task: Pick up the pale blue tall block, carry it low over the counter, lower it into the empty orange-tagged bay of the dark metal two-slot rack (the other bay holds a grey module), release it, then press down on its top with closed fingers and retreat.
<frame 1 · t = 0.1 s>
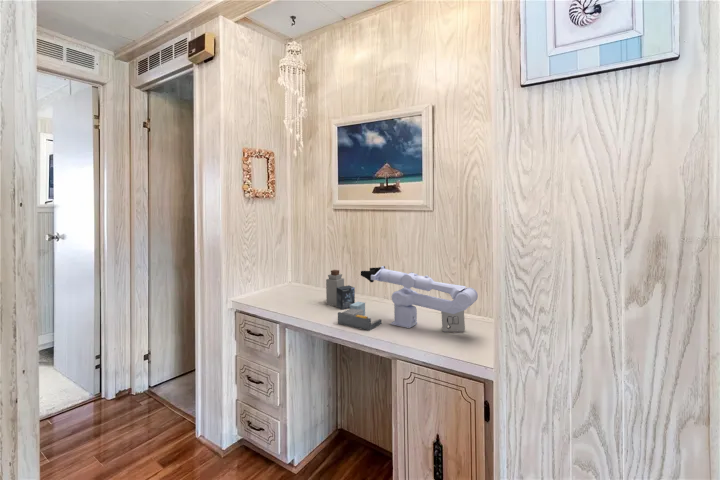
hand: (365, 271, 172), 21 cm above the table, tool horizontal, fingers open, 7 cm apart
rack bay: (368, 325, 163), on the table
box: (345, 307, 190), on the table
electrical switch: (451, 330, 156), on the table, touching arm
perfume bottle: (335, 304, 196), on the table
pale blue tall block: (357, 316, 176), on the table
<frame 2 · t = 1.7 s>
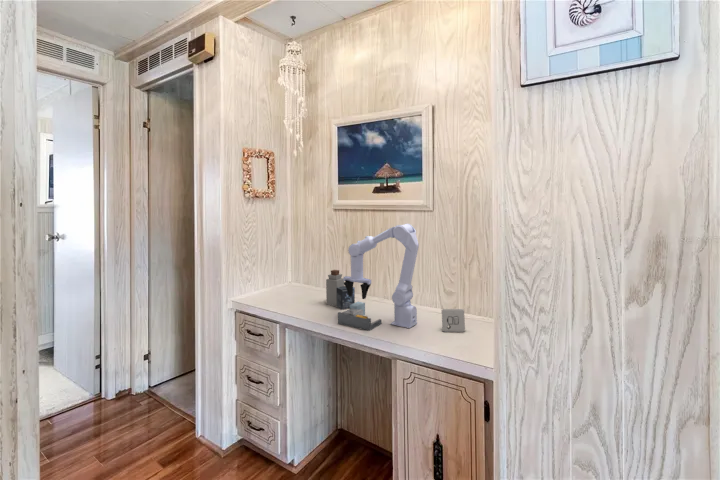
hand: (357, 297, 175), 9 cm above the table, tool pointing down, fingers open, 7 cm apart
electrical switch: (451, 330, 156), on the table
everything else where it was.
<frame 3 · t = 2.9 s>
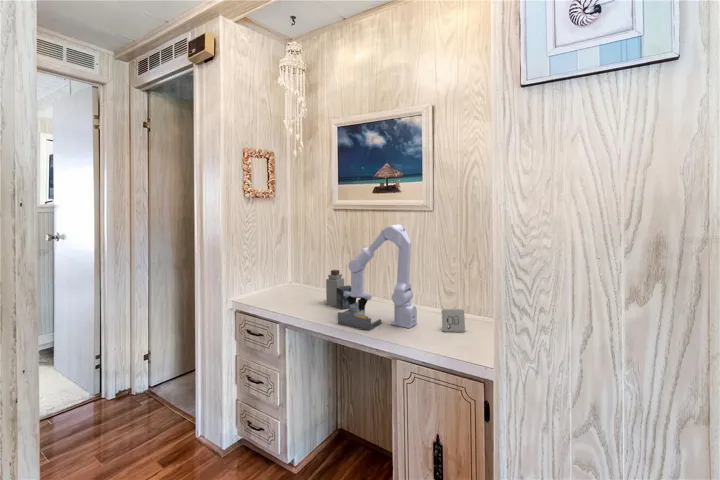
hand: (357, 312, 176), 2 cm above the table, tool pointing down, fingers closed on pale blue tall block, 4 cm apart
pale blue tall block: (357, 316, 176), on the table, touching gripper
everything else where it was.
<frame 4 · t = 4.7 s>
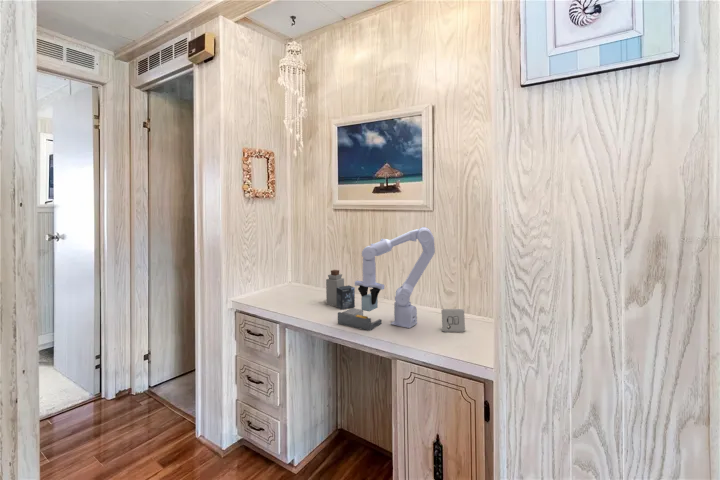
hand: (369, 303, 165), 9 cm above the table, tool pointing down, fingers closed on pale blue tall block, 4 cm apart
pale blue tall block: (369, 308, 166), point 6 cm above the table, touching gripper
everything else where it was.
when the fingers open (3 cm above the table, at t = 6.4 s): pale blue tall block stays where it is, resting in rack bay.
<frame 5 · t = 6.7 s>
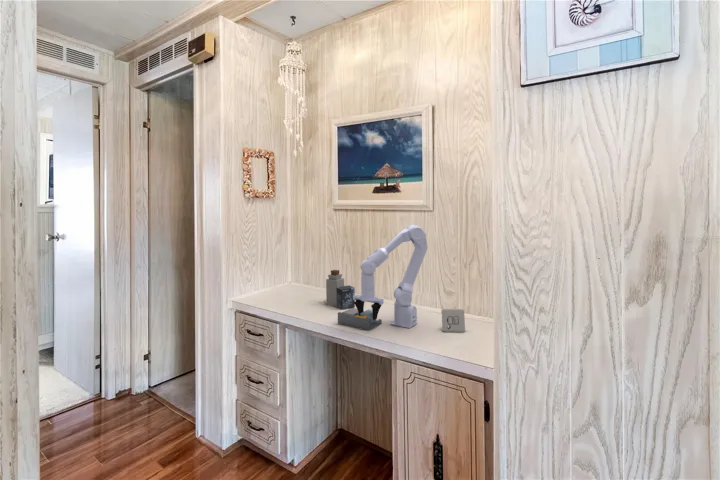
hand: (368, 318, 163), 3 cm above the table, tool pointing down, fingers open, 6 cm apart
pale blue tall block: (368, 325, 163), resting in rack bay
everything else where it was.
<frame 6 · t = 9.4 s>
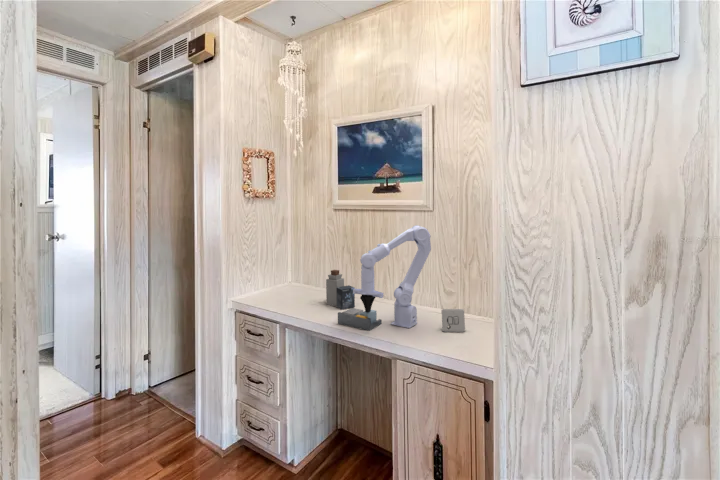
hand: (368, 311, 162), 6 cm above the table, tool pointing down, fingers closed
nothing on the table moved.
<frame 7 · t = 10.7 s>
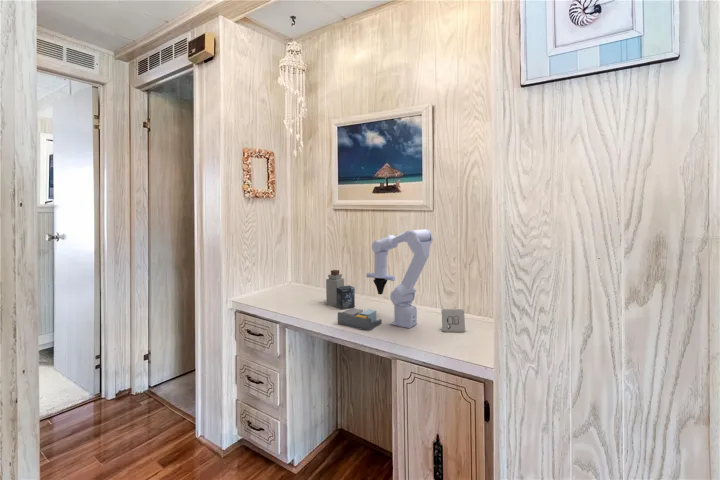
hand: (380, 293, 175), 10 cm above the table, tool pointing down, fingers closed
nothing on the table moved.
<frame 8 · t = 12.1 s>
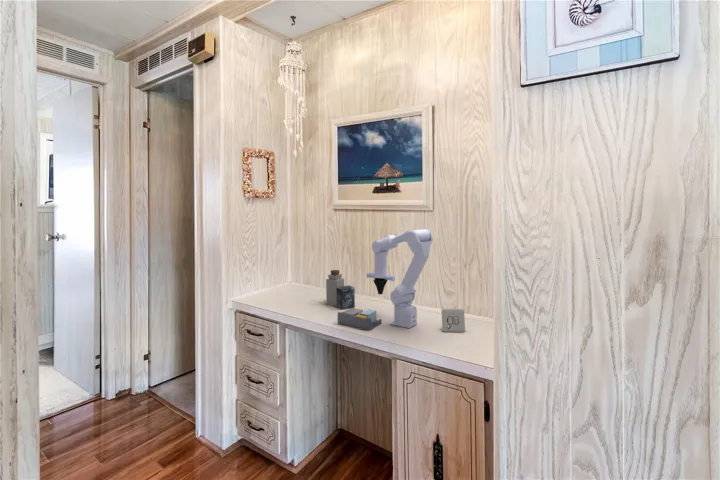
hand: (380, 293, 175), 10 cm above the table, tool pointing down, fingers closed
nothing on the table moved.
at the end: pale blue tall block 0.3 cm off-centre on the rack bay, point 0.0 cm above the rack bay's base; pale blue tall block tilted 0°; the gripper is holding nothing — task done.
